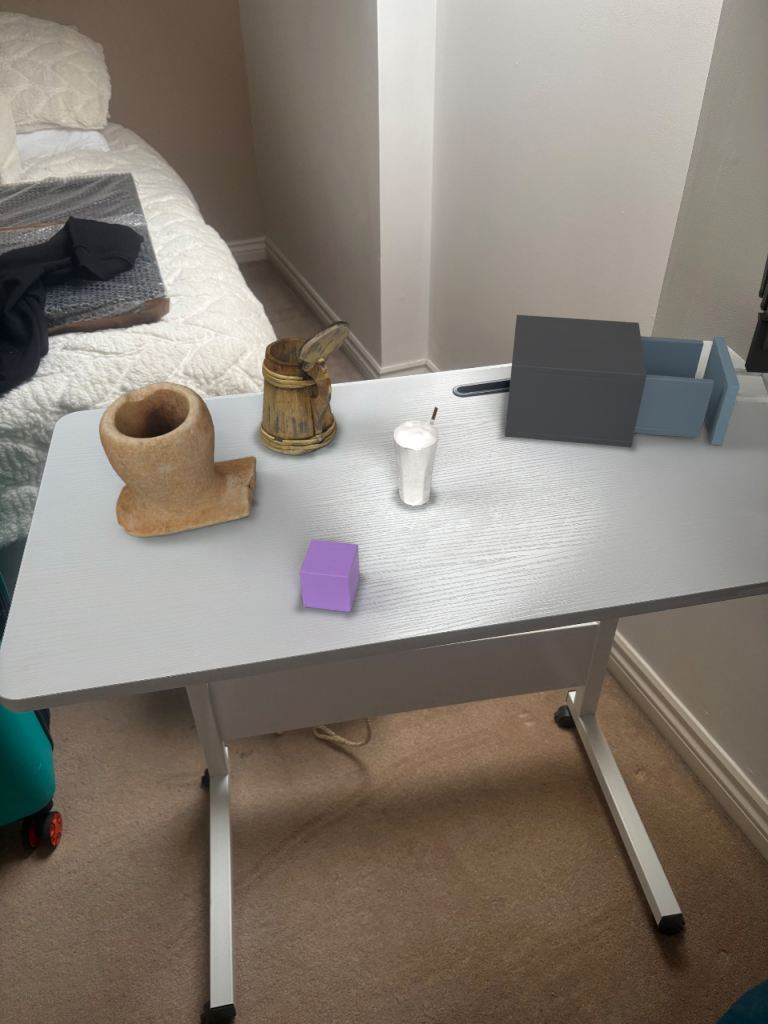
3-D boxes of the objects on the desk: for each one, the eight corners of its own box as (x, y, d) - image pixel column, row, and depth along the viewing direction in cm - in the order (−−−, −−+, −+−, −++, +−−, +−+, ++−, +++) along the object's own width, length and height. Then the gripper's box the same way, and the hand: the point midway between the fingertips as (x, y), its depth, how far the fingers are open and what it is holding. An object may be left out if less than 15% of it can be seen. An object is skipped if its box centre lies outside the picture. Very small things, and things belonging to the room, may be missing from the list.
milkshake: (449, 493, 90) (453, 415, 84) (415, 515, 87) (416, 436, 81) (419, 475, 93) (421, 398, 86) (385, 496, 90) (384, 418, 83)
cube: (359, 578, 80) (358, 543, 77) (350, 612, 76) (348, 577, 74) (314, 573, 80) (311, 539, 78) (303, 606, 77) (299, 571, 74)
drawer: (758, 397, 103) (776, 340, 98) (776, 450, 94) (797, 390, 89) (598, 385, 105) (608, 329, 100) (601, 435, 97) (612, 376, 92)
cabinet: (624, 391, 106) (638, 322, 100) (630, 447, 96) (646, 374, 90) (510, 382, 108) (516, 314, 102) (504, 436, 98) (511, 365, 92)
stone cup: (119, 564, 82) (82, 438, 72) (119, 492, 91) (86, 371, 81) (271, 539, 84) (256, 414, 75) (257, 471, 93) (241, 352, 84)
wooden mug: (311, 484, 92) (299, 336, 80) (246, 431, 100) (227, 290, 88) (374, 454, 96) (371, 309, 84) (307, 405, 104) (296, 268, 93)
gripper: (771, 131, 85) (715, 340, 100) (798, 170, 75) (732, 396, 90) (848, 134, 84) (781, 345, 99) (887, 173, 74) (805, 401, 89)
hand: (758, 369), depth 94 cm, fingers closed
